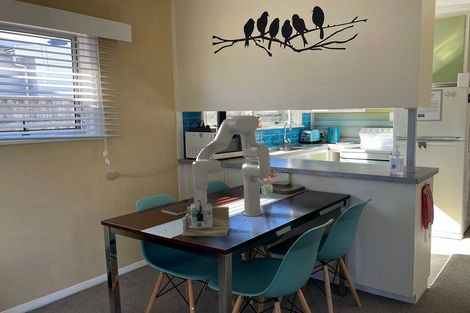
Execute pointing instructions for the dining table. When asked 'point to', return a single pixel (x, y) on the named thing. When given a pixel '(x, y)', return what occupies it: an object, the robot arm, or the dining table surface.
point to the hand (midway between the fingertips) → (201, 218)
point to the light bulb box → (206, 217)
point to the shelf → (219, 227)
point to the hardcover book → (177, 209)
